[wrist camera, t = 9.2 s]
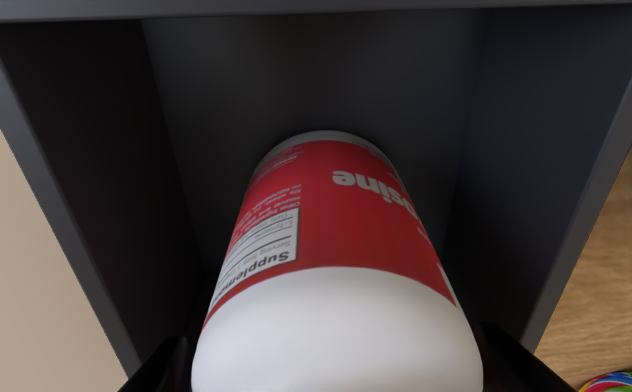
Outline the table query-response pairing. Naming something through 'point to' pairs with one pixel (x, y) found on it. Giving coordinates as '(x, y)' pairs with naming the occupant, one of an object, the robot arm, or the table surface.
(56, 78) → the bin
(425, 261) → the pill bottle
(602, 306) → the table surface
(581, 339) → the table surface
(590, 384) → the lollipop
